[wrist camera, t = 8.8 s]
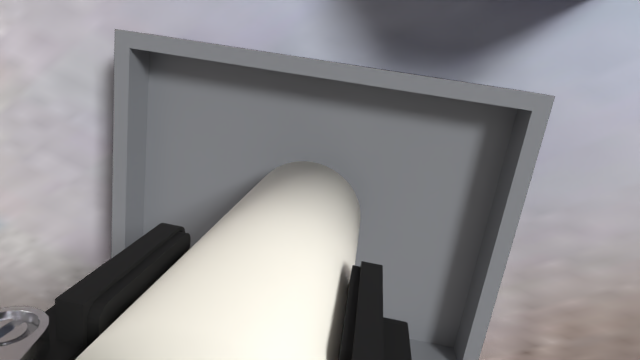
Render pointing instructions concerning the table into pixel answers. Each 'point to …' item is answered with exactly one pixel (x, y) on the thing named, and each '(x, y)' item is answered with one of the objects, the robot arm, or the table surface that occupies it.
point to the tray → (334, 165)
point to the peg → (253, 280)
